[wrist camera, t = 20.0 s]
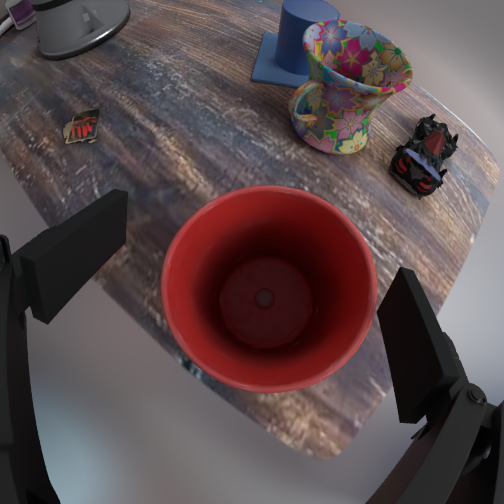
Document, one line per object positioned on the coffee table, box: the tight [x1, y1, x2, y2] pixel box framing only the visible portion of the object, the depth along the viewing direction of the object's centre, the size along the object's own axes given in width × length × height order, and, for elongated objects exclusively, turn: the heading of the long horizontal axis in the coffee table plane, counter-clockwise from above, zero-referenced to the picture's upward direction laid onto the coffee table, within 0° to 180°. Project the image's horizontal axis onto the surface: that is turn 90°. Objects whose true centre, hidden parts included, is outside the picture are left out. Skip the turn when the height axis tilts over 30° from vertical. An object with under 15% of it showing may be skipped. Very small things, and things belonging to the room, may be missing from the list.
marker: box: [0, 17, 14, 36], centre depth 36 cm, size 18×2×2 cm, turn 152°
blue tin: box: [275, 0, 340, 76], centre depth 29 cm, size 6×6×8 cm
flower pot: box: [160, 185, 377, 393], centre depth 20 cm, size 11×11×10 cm
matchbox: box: [63, 107, 100, 144], centre depth 29 cm, size 5×5×1 cm
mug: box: [288, 20, 412, 155], centre depth 25 cm, size 12×9×11 cm
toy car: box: [389, 114, 458, 200], centre depth 28 cm, size 6×12×4 cm, turn 139°
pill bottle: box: [6, 0, 36, 30], centre depth 32 cm, size 5×5×10 cm
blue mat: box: [251, 32, 309, 88], centre depth 33 cm, size 10×10×1 cm
